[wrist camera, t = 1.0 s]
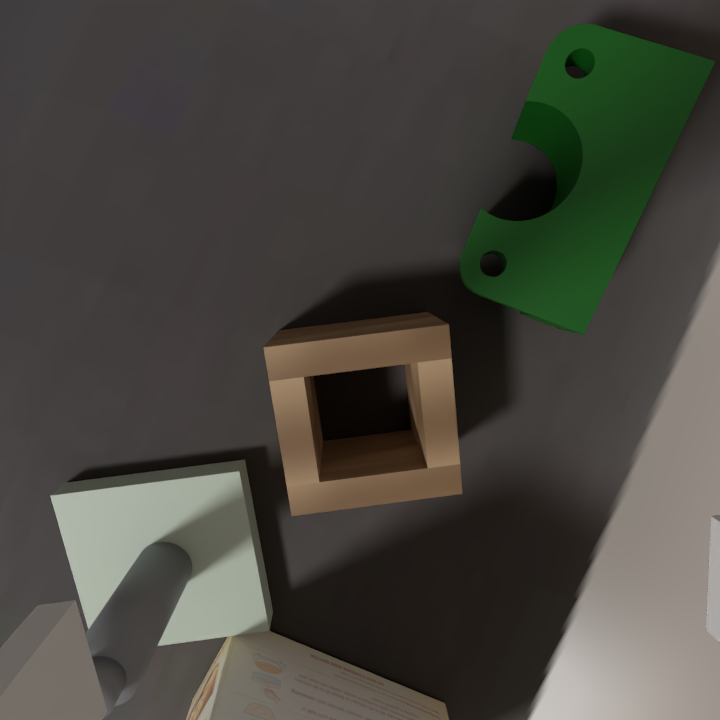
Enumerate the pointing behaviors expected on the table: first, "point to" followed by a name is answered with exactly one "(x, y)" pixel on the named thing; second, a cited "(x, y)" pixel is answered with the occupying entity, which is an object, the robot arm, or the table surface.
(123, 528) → the sage green base plate
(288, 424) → the collar
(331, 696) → the coffeecake box
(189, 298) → the table surface
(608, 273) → the clamp
